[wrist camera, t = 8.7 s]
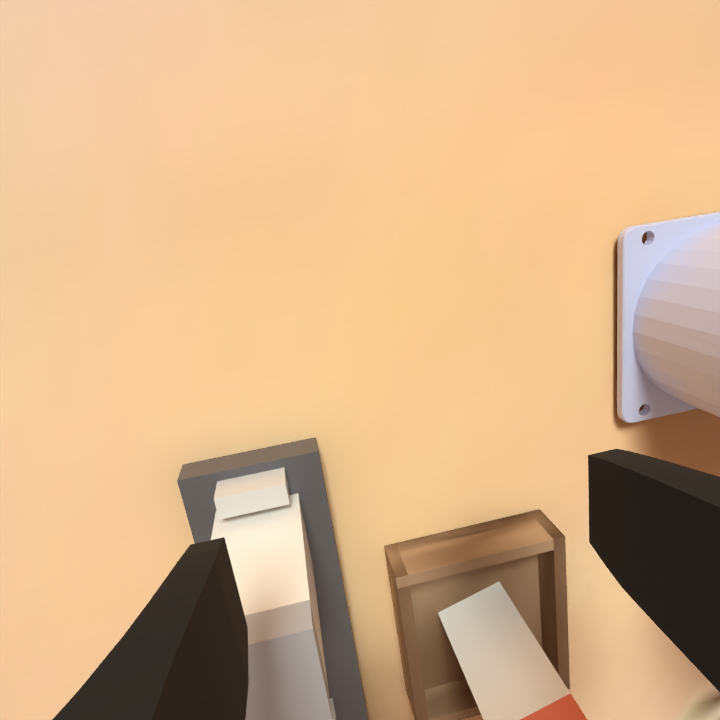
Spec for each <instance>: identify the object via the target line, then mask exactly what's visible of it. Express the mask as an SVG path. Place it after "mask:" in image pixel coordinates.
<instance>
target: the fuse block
mask: <svg viewBox="0 0 720 720" xmlns="http://www.w3.org/2000/svg"><path fill="white" fill-rule="evenodd" d="M177 481H178V485H179V488H180V492H181V495H182V499H183V503H184V506H185V510H186V513H187V517H188V520H189V524H190V528H191V531H192V535H193V538H194V542H195V544H196V543H200V542H205V541H209V540H211V536H212V530H213V524H214V519H215V513H216V511H217V514H218V518H219V520H221V519H225V518H230V517H234V516H239V515H243V514H248V513H252V512H257V511H261V510H266V509H270V508H275V507H280V506H284V505H289V504H290V500H289V495H293V494H297V493H298V494H299V499H300V504H301V509H302V514H303V519H304V524H305V528H306V533H307V538H308V543H309V548H310V553H311V558H312V564H313V572H314V580H315V588H316V596H317V604H318V612H319V620H320V628H321V636H322V643H323V651H324V659H325V667H326V675H327V683H328V691H329V699H330V707H331V715H332V719H331V720H368V716H367V711H366V705H365V700H364V695H363V689H362V684H361V678H360V673H359V668H358V662H357V657H356V651H355V646H354V641H353V635H352V630H351V624H350V619H349V614H348V608H347V603H346V597H345V592H344V587H343V581H342V576H341V571H340V565H339V560H338V554H337V549H336V544H335V538H334V533H333V527H332V522H331V517H330V511H329V506H328V500H327V495H326V490H325V484H324V479H323V473H322V468H321V463H320V457H319V452H318V447H317V442H316V438H311V439H306V440H301V441H296V442H291V443H287V444H282V445H277V446H272V447H267V448H262V449H257V450H253V451H248V452H243V453H238V454H233V455H228V456H223V457H219V458H214V459H209V460H204V461H199V462H194V463H189V464H184V465H183V466H182V469H181V472H180V475H179V477H178V480H177Z"/></svg>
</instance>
